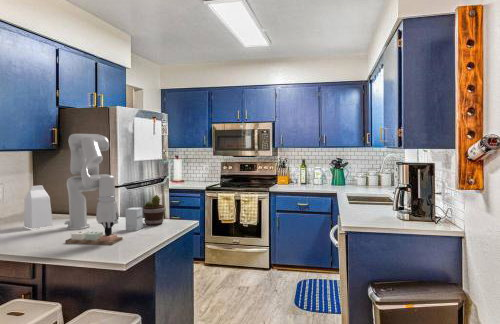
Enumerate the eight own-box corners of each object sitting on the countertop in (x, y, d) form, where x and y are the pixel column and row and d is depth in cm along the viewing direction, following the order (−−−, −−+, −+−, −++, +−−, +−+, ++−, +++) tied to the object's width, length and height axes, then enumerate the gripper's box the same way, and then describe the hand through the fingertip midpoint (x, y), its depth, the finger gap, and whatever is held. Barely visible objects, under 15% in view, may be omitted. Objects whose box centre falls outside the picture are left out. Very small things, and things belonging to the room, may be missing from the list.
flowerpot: (138, 223, 228) (137, 192, 227) (161, 220, 237) (160, 190, 236) (146, 227, 216) (145, 194, 216) (170, 224, 225) (169, 192, 225)
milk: (31, 230, 214) (30, 187, 213) (24, 227, 221) (22, 186, 220) (52, 226, 223) (51, 185, 222) (44, 224, 230) (43, 184, 229)
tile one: (71, 239, 183) (71, 233, 183) (78, 236, 189) (78, 230, 189) (81, 239, 182) (81, 233, 182) (89, 236, 188) (88, 230, 188)
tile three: (99, 242, 181) (99, 236, 181) (106, 239, 187) (106, 233, 187) (110, 242, 180) (110, 236, 180) (116, 239, 186) (116, 233, 186)
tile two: (85, 239, 182) (85, 233, 182) (92, 237, 188) (92, 231, 188) (96, 240, 181) (95, 234, 181) (102, 237, 187) (102, 231, 187)
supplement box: (136, 231, 208) (136, 209, 207) (125, 230, 209) (124, 209, 209) (143, 228, 215) (142, 207, 214) (132, 227, 216) (131, 207, 216)
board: (65, 243, 182) (65, 240, 182) (78, 238, 192) (77, 235, 192) (112, 244, 177) (111, 241, 177) (122, 239, 187) (122, 237, 187)
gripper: (89, 200, 180) (90, 236, 181) (116, 200, 177) (117, 237, 178) (98, 198, 187) (99, 233, 188) (124, 198, 185) (125, 233, 185)
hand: (108, 235), depth 183 cm, fingers closed
